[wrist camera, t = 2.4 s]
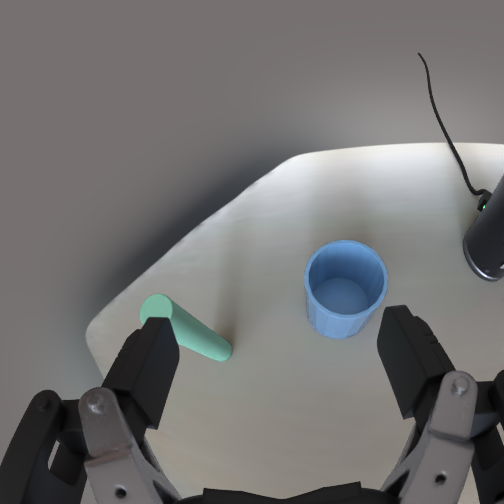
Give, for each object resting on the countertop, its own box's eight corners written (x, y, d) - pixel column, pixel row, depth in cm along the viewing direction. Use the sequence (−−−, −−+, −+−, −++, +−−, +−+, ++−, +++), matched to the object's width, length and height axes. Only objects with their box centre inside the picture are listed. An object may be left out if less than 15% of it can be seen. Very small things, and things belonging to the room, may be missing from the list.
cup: (330, 266, 35) (334, 226, 27) (381, 298, 31) (401, 266, 24) (293, 314, 33) (287, 286, 25) (346, 351, 29) (359, 335, 22)
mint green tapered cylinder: (220, 335, 33) (157, 286, 20) (236, 349, 32) (179, 309, 18) (206, 351, 33) (133, 312, 19) (221, 366, 31) (154, 337, 18)
